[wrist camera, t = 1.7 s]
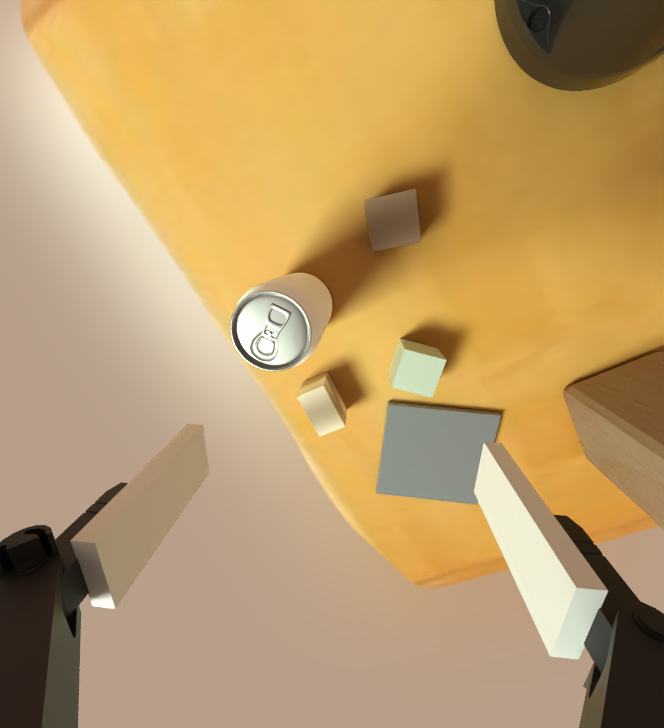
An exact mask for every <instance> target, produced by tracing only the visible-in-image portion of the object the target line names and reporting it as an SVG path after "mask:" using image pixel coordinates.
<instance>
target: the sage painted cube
mask: <svg viewBox="0 0 664 728" xmlns="http://www.w3.org/2000/svg"><path fill="white" fill-rule="evenodd" d="M446 361H447V360H446V358H445V357H444V356H443V355H442V353H441V352H440V351H439V349H438V348H435V347H432V346H428V345H424V344H420V343H416V342H412V341H408V340H405V339H401V338H400V340H399V343H398V346H397V349H396V352H395V355H394V358H393V361H392V364H391V367H390V370H389V377H390V382H391V386H392V388H395V389H399V390H403V391H407V392H411V393H415V394H418V395H422V396H426V397H430V398H432V397H433V394H434V391H435V389H436V386H437V384H438V381H439V379H440V376H441V374H442V371H443V369H444V366H445V363H446Z"/></svg>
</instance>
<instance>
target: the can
mask: <svg viewBox="0 0 664 728" xmlns="http://www.w3.org/2000/svg"><path fill="white" fill-rule="evenodd" d="M331 313H332V298H331V295H330V292H329V290H328V289H327V287H326V286H325V284H324V283H323V282H322V281H321V280H319V279H318V278H316V277H315V276H313V275H310V274H307V273H292V274H288V275H285V276H282V277H279V278H276V279H273V280H270V281H267V282H264V283H261V284H259V285H256V286H254V287H253V288H251V289H250V290H249V291H247V292H246V293H245V294H244V295H243V296H242V297H241V299H240V300H239V302H238V304H237V306H236V308H235V310H234V312H233V315H232V318H231V323H230V332H231V337H232V341H233V343H234V346H235V348H236V349H237V351H238V352H239V354H240V355H241V356H242V357H243V358H244V359H245V360H246V361H247V362H248V363H250V364H251V365H253V366H255V367H257V368H259V369H262V370H266V371H282V370H286V369H289V368H291V367H294V366H297V365H299V364H301V363H302V362H304V361H305V360H306V359H307V358H308V357H309V356H310V355H311V354H312V353H313V352H314V350H315V348H316V347H317V345H318V343H319V341H320V339H321V337H322V335H323V333H324V331H325V328H326V326H327V324H328V322H329V319H330V317H331Z"/></svg>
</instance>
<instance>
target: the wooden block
mask: <svg viewBox="0 0 664 728" xmlns="http://www.w3.org/2000/svg"><path fill="white" fill-rule="evenodd" d="M564 398H565V401H566V403H567V406H568V409H569V411H570V414H571V417H572V420H573V422H574V425H575V428H576V430H577V433H578V436H579V439H580V441H581V444H582V447H583V449H584V452H585V455H586V458H587V459H588V460H589V461H590V462H591V463H592V464H593V465H594V466H595V467H597V468H598V469H599V470H600V471H601V472H602V473H603V474H604V475H605V476H606V477H607V478H608V479H610V480H611V481H612V482H613V483H614V484H615V485H616V486H617V487H618V488H619V489H620V490H621V491H623V492H624V493H625V494H626V495H627V496H628V497H629V498H630V499H631V500H632V501H633V502H635V503H636V504H637V505H638V506H639V507H640V508H641V509H642V510H643V511H644V512H645V513H646V514H648V515H649V516H650V517H651V518H652V519H653V520H654V521H655V522H656V523H657V524H658V525H659V526H661V527H662V528H663V529H664V351H660V352H654V353H651V354H649V355H646V356H644V357H641V358H639V359H636V360H634V361H631V362H629V363H626V364H624V365H621V366H619V367H616V368H614V369H611V370H609V371H606V372H604V373H601V374H598V375H596V376H593V377H591V378H588V379H586V380H583V381H581V382H578V383H576V384H573V385H571V386H569V387H567V388H566V389H565V390H564Z"/></svg>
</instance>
